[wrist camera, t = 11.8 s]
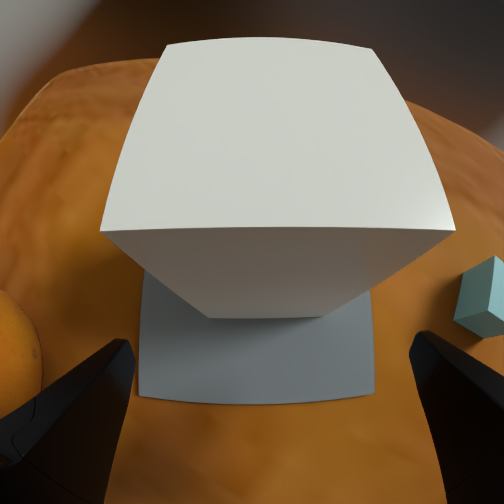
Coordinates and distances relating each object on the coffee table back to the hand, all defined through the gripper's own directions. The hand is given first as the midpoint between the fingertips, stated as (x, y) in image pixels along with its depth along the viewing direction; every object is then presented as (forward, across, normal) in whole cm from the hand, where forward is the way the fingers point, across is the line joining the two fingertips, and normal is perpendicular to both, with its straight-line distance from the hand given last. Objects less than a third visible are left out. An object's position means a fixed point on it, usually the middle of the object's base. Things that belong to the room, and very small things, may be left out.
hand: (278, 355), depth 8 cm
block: (+7, -16, +5) cm, 18 cm away
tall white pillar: (+9, 0, +2) cm, 9 cm away
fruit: (+4, +19, +8) cm, 21 cm away
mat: (+9, +1, +3) cm, 9 cm away
